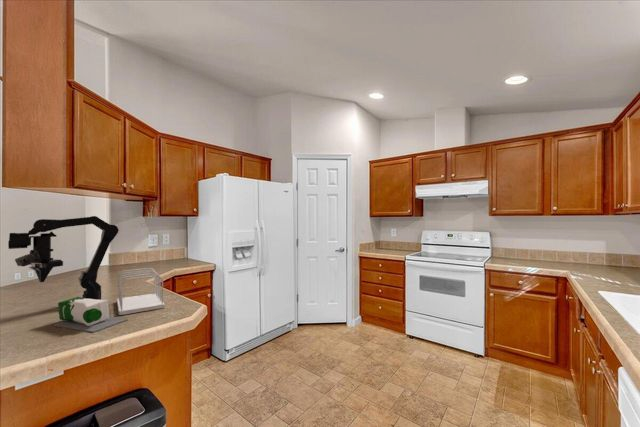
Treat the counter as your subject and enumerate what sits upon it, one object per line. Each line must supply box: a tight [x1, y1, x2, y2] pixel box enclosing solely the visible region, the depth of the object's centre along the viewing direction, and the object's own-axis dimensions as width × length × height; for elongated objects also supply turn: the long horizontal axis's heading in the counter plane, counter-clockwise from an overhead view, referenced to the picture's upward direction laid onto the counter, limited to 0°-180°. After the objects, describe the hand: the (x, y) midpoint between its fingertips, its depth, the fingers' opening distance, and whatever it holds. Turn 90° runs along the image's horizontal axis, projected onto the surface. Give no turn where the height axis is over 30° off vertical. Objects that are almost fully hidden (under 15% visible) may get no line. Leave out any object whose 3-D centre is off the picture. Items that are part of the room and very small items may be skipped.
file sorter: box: [116, 267, 166, 316], centre depth 137 cm, size 25×17×16 cm
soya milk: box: [57, 296, 110, 326], centre depth 115 cm, size 9×9×20 cm
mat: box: [53, 315, 129, 334], centre depth 114 cm, size 13×22×1 cm, turn 72°
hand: (41, 282), depth 129 cm, fingers closed
